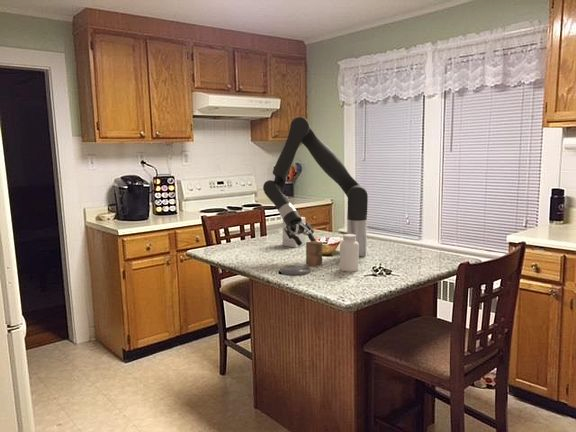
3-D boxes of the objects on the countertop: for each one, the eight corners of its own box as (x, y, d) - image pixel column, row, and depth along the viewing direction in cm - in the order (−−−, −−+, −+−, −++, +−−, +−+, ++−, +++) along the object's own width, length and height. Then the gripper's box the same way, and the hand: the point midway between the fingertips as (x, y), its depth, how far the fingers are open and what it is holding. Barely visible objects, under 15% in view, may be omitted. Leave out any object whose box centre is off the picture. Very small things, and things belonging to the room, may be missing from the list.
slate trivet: (312, 268, 206) (312, 265, 206) (307, 276, 194) (307, 273, 194) (283, 266, 209) (283, 264, 209) (276, 274, 197) (276, 272, 196)
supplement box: (295, 247, 248) (295, 219, 246) (282, 245, 253) (282, 217, 251) (306, 244, 255) (306, 217, 253) (292, 242, 260) (292, 215, 258)
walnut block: (314, 262, 216) (314, 240, 215) (322, 264, 213) (322, 242, 211) (306, 264, 213) (306, 242, 211) (314, 266, 209) (314, 244, 208)
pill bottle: (353, 273, 198) (354, 237, 196) (336, 270, 202) (336, 235, 200) (361, 268, 205) (362, 234, 203) (344, 266, 209) (344, 232, 207)
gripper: (282, 211, 214) (300, 240, 207) (304, 208, 224) (322, 236, 217) (274, 222, 219) (291, 250, 212) (297, 218, 228) (314, 245, 222)
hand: (307, 243), depth 215 cm, fingers open, 8 cm apart
